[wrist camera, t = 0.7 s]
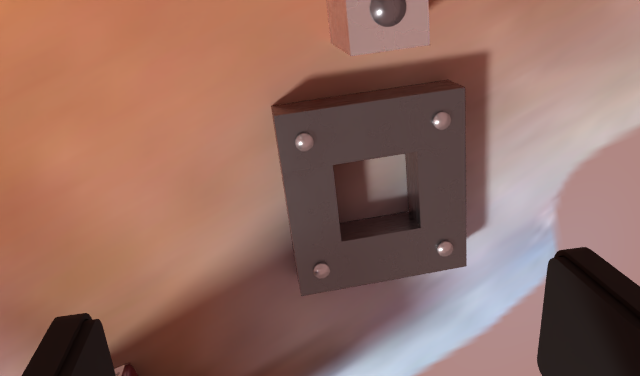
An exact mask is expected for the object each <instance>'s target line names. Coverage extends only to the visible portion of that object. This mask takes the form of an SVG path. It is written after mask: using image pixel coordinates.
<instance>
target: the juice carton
mask: <svg viewBox="0 0 640 376" xmlns="http://www.w3.org/2000/svg"><path fill="white" fill-rule="evenodd" d="M114 371H115V374H116V376H138V374H137V373H136V371H135V370H134V368H133V367H132V365H131V364H130V363H128V364H125V365H123V366H120V367H118V368H115V369H114Z"/></svg>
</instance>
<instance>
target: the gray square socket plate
mask: <svg viewBox="0 0 640 376" xmlns="http://www.w3.org/2000/svg"><path fill="white" fill-rule="evenodd" d="M271 109H272V115H273V122H274V128H275V135H276V141H277V147H278V154H279V160H280V167H281V173H282V180H283V186H284V192H285V199H286V205H287V212H288V218H289V225H290V231H291V237H292V244H293V250H294V257H295V263H296V270H297V276H298V281H299V286H300V291H301V296H304V295H310V294H316V293H321V292H327V291H332V290H338V289H343V288H349V287H354V286H360V285H365V284H371V283H376V282H382V281H387V280H393V279H398V278H404V277H409V276H415V275H420V274H426V273H431V272H437V271H442V270H448V269H453V268H459V267H465V266H466V153H465V87H463V86H461V85H459V84H456V83H454V82H452V81H450V80H444V81H437V82H430V83H424V84H417V85H410V86H403V87H397V88H390V89H383V90H376V91H369V92H363V93H356V94H349V95H342V96H336V97H329V98H322V99H315V100H309V101H302V102H295V103H288V104H281V105H275V106H271ZM399 154H405V155H406V173H407V191H408V209H409V212H403V213H397V214H391V215H385V216H379V217H373V218H368V219H362V220H356V221H350V222H344V223H339V215H338V206H337V198H336V189H335V180H334V171H333V165H336V164H343V163H349V162H355V161H362V160H368V159H374V158H380V157H387V156H393V155H399Z"/></svg>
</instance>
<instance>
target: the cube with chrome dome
mask: <svg viewBox="0 0 640 376" xmlns="http://www.w3.org/2000/svg"><path fill="white" fill-rule="evenodd" d="M326 3H327V12H328V22H329V31H330V41H331V44H333V45H334V46H336V47H338V48H339V49H341V50H342V51H344V52H345V53H347V54H348V55H350V56H355V55H362V54H369V53H376V52H384V51H391V50H398V49H405V48H412V47H419V46H426V45H430V33H429V3H428V0H326Z"/></svg>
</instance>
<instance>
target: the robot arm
mask: <svg viewBox="0 0 640 376" xmlns="http://www.w3.org/2000/svg"><path fill="white" fill-rule="evenodd" d="M537 363H538V367H539V370H540V372H541V374H542V376H640V286H638V285H637V284H636V283H634V282H633V281H632V280H630V279H629V278H628V277H626V276H625V275H624V274H622V273H621V272H620V271H618V270H617V269H616V268H614V267H613V266H612V265H610V264H609V263H608V262H606V261H605V260H604V259H603V258H601V257H600V256H599V255H597V254H596V253H594V252H593V251H592V250H590V249H588V248H586V247H582V248H574V249H566V250H560V251H558V252H557V253H556V254H555V257H554V258H552V259H550V261H549V262H548V268H547V277H546V285H545V294H544V303H543V312H542V320H541V329H540V338H539V347H538V355H537ZM22 376H116V374H115V371H114V367H113V363H112V359H111V356H110V352H109V348H108V345H107V341H106V337H105V333H104V330H103V326H102V323H101V321H100V320H99V319H94V320H92V318H91V316H90V315H89V314H87V313H83V314H76V315H68V316H60V317H56V318H55V319H54V320H53V322H52V323H51V325H50V327H49V329H48V330H47V332H46V334H45V336H44V337H43V339H42V341H41V343H40V344H39V346H38V348H37V350H36V351H35V353H34V355H33V357H32V358H31V360H30V362H29V364H28V365H27V367H26V369H25V371H24V373H23V374H22Z"/></svg>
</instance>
